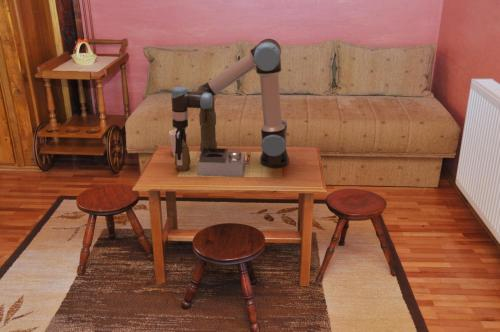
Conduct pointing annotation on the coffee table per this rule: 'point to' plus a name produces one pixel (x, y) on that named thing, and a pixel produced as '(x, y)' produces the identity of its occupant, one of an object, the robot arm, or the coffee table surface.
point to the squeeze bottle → (183, 158)
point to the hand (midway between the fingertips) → (181, 161)
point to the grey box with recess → (221, 162)
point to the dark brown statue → (208, 127)
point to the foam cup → (173, 140)
